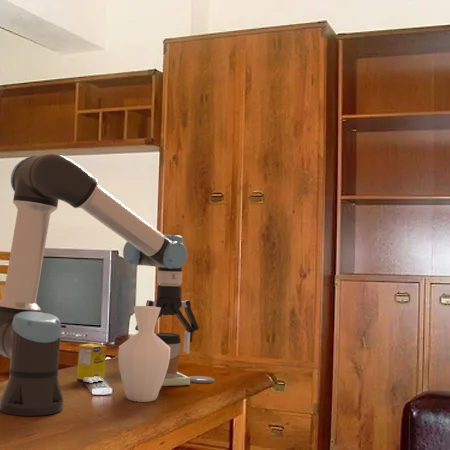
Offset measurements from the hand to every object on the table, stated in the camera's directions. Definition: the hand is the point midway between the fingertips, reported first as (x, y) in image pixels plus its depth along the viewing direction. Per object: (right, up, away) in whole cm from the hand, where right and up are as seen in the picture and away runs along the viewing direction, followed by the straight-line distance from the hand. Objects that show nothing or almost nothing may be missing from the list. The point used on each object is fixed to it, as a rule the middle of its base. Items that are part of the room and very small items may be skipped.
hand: (166, 353), depth 214 cm
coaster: (+10, -10, +6) cm, 15 cm away
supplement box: (-23, -8, -4) cm, 24 cm away
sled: (-4, -9, +6) cm, 11 cm away
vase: (-5, -8, -23) cm, 25 cm away
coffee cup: (0, -9, -1) cm, 9 cm away
